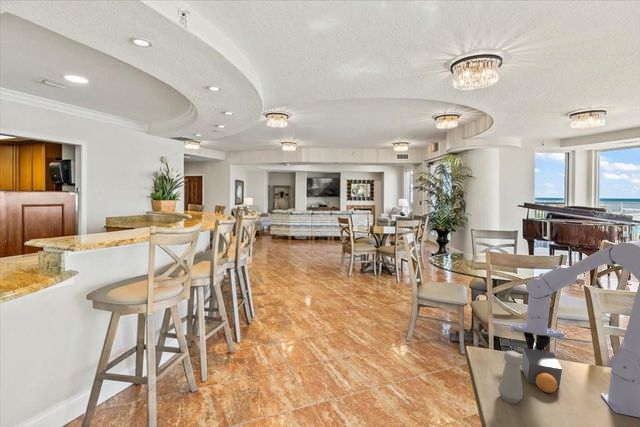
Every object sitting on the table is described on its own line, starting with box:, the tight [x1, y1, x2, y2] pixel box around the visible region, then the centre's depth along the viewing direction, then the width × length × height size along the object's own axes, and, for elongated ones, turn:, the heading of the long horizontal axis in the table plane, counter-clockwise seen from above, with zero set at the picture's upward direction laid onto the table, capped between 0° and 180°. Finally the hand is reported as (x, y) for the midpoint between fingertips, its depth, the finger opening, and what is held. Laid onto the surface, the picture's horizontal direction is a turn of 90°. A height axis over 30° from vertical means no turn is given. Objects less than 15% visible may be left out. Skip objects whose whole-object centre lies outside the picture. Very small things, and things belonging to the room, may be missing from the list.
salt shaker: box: [497, 350, 524, 405], centre depth 88 cm, size 6×6×13 cm
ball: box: [535, 373, 558, 394], centre depth 93 cm, size 5×5×5 cm
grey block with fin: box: [520, 341, 563, 389], centre depth 102 cm, size 14×8×6 cm, turn 160°
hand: (533, 356), depth 106 cm, fingers closed on grey block with fin
